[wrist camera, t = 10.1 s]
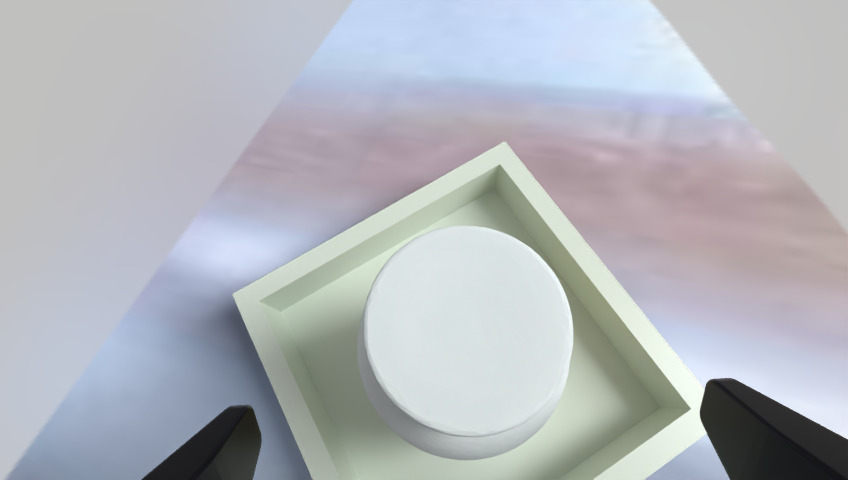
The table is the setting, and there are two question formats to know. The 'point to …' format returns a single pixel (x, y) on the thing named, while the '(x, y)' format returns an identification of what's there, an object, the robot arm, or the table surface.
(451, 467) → the tray
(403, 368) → the supplement bottle
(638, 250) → the table surface
